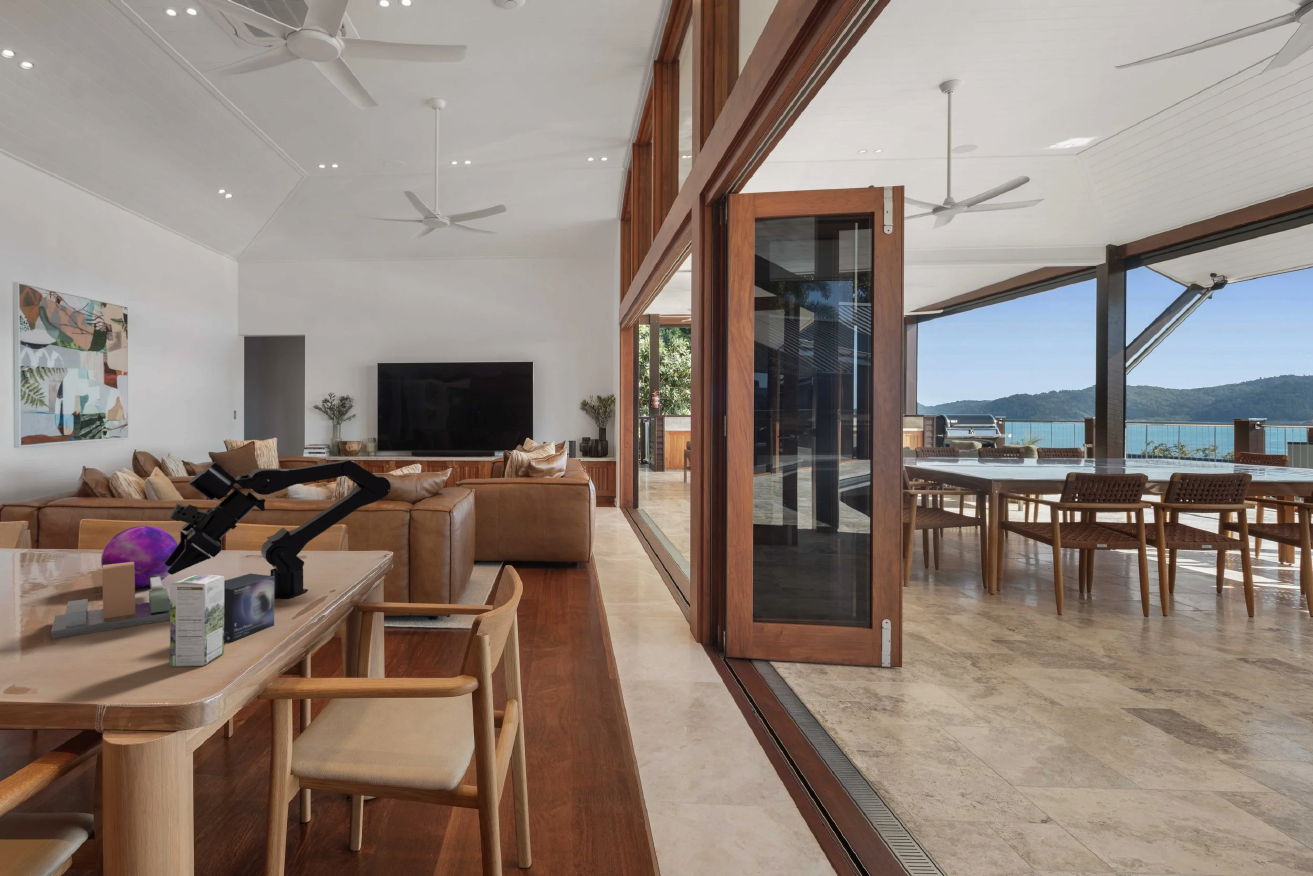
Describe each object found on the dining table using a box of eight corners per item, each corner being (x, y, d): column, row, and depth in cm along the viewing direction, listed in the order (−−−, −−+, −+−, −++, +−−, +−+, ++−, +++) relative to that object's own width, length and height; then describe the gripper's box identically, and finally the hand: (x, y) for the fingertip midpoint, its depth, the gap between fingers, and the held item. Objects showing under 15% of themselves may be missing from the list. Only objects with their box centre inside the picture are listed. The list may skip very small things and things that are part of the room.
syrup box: (191, 654, 113) (190, 574, 113) (225, 654, 114) (224, 574, 113) (169, 667, 108) (168, 583, 107) (206, 666, 108) (204, 582, 108)
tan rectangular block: (134, 608, 135) (134, 561, 134) (135, 613, 131) (134, 566, 131) (103, 612, 132) (102, 565, 131) (103, 618, 128) (102, 569, 127)
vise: (188, 603, 144) (188, 584, 144) (193, 616, 135) (193, 596, 134) (55, 622, 129) (55, 602, 129) (51, 639, 120) (50, 616, 120)
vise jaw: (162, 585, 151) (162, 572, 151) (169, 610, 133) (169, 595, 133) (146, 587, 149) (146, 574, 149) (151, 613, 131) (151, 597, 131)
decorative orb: (190, 584, 159) (189, 525, 159) (115, 598, 147) (114, 534, 146) (164, 575, 167) (164, 519, 167) (91, 588, 155) (90, 527, 154)
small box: (232, 643, 119) (231, 588, 119) (203, 640, 121) (202, 586, 120) (276, 625, 130) (276, 574, 129) (249, 622, 131) (249, 572, 131)
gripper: (192, 486, 146) (132, 539, 139) (201, 494, 132) (133, 554, 125) (234, 516, 152) (177, 569, 145) (246, 527, 137) (184, 586, 131)
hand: (167, 569), depth 136 cm, fingers open, 9 cm apart
